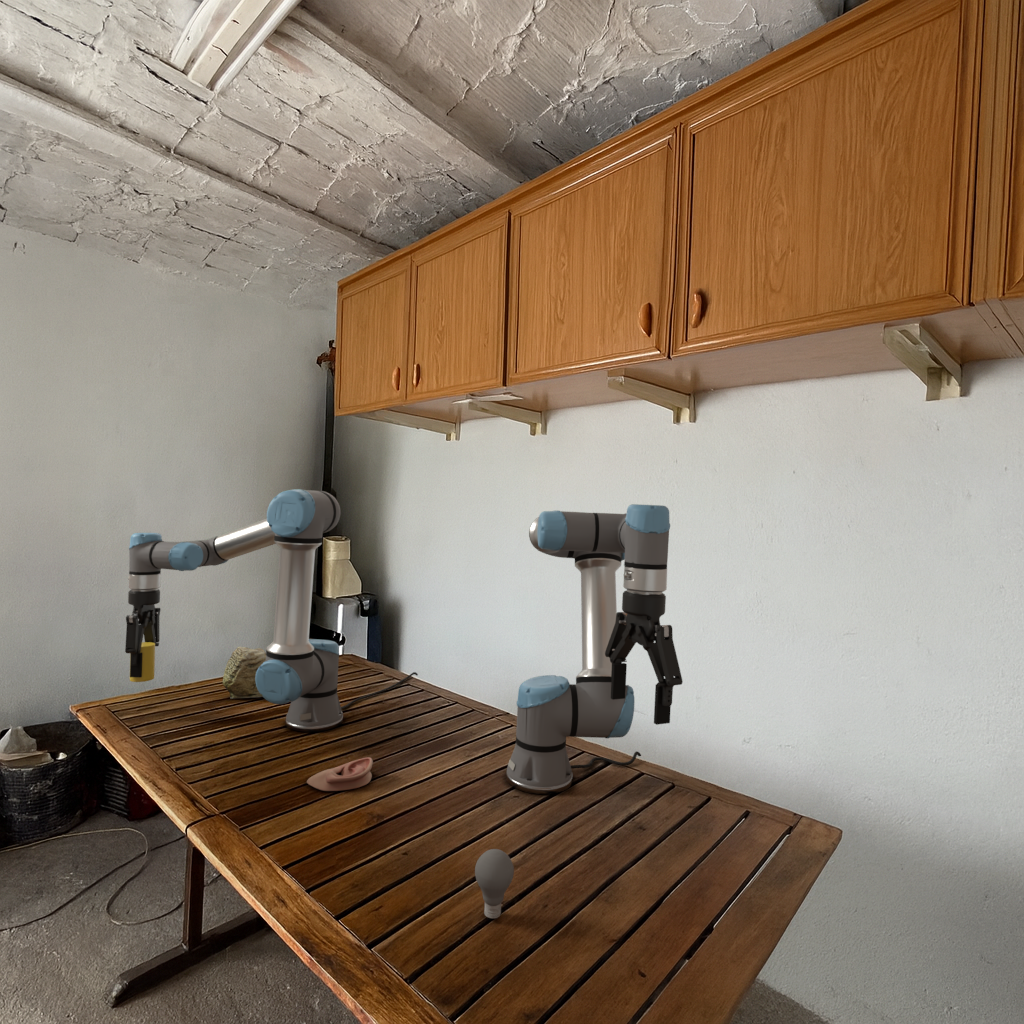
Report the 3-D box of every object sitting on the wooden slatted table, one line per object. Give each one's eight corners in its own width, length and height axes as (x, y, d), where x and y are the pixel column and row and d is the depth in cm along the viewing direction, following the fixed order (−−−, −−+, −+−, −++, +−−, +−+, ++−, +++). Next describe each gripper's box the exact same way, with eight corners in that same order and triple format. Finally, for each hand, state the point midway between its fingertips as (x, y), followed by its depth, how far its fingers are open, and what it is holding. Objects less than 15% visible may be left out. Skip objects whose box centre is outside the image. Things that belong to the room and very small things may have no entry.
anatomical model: (300, 769, 137) (326, 749, 148) (299, 787, 137) (325, 766, 148) (357, 777, 134) (379, 756, 146) (356, 796, 134) (378, 773, 146)
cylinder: (132, 683, 169) (133, 647, 169) (127, 678, 174) (128, 643, 173) (156, 679, 173) (157, 645, 173) (151, 675, 178) (152, 641, 177)
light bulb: (472, 903, 100) (475, 841, 100) (510, 903, 101) (513, 841, 101) (473, 929, 94) (476, 863, 94) (513, 928, 95) (516, 862, 95)
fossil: (218, 695, 195) (220, 647, 195) (278, 685, 208) (279, 640, 207) (228, 703, 189) (230, 653, 188) (289, 692, 201) (290, 645, 201)
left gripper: (148, 584, 182) (146, 664, 183) (110, 594, 163) (108, 683, 164) (175, 585, 183) (172, 664, 183) (140, 594, 164) (138, 683, 164)
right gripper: (590, 582, 122) (585, 691, 123) (670, 603, 99) (663, 737, 100) (623, 581, 125) (618, 688, 126) (708, 602, 102) (702, 732, 103)
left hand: (142, 673), depth 173 cm, fingers closed on cylinder, 6 cm apart
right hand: (638, 710), depth 113 cm, fingers open, 13 cm apart
